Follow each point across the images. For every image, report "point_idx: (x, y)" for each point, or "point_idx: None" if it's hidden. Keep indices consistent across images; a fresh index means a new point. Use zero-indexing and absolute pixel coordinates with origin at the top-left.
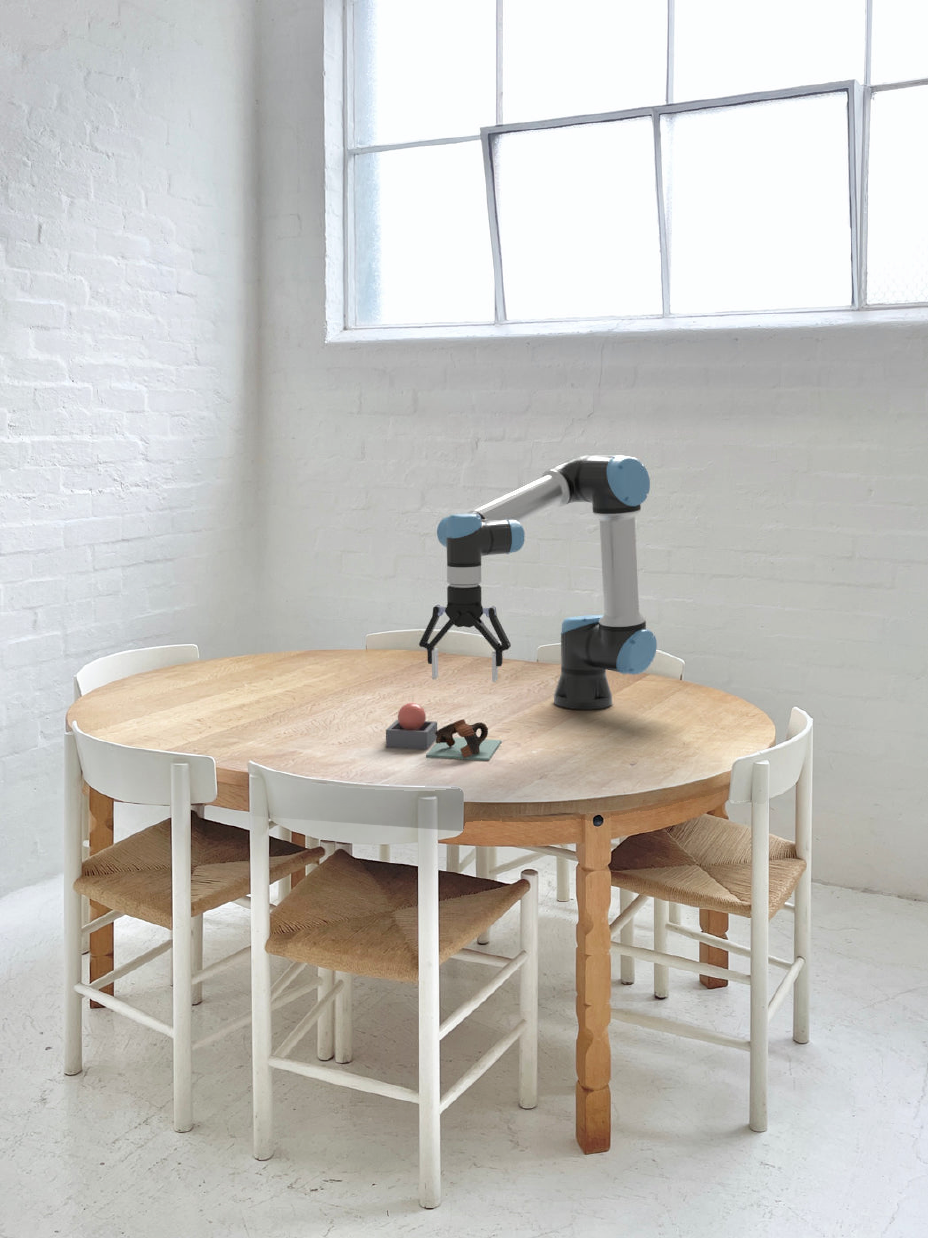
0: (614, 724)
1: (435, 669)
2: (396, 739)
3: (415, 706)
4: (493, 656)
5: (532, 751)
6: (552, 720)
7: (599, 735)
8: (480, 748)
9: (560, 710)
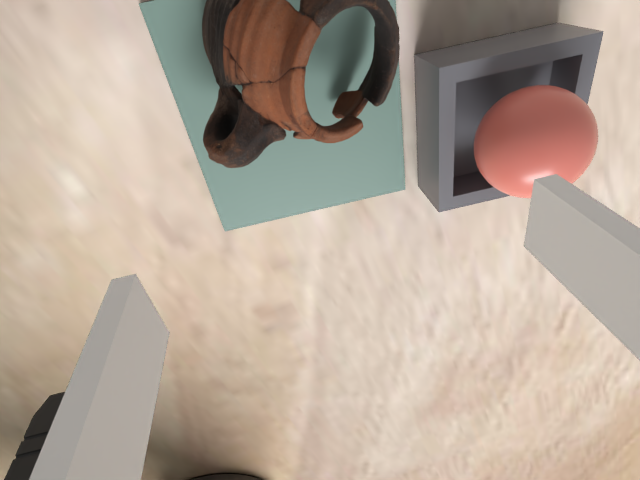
0: None
1: (581, 219)
2: (539, 35)
3: (544, 148)
4: (58, 463)
5: (80, 185)
6: (209, 414)
7: (29, 379)
8: None
9: (232, 462)
